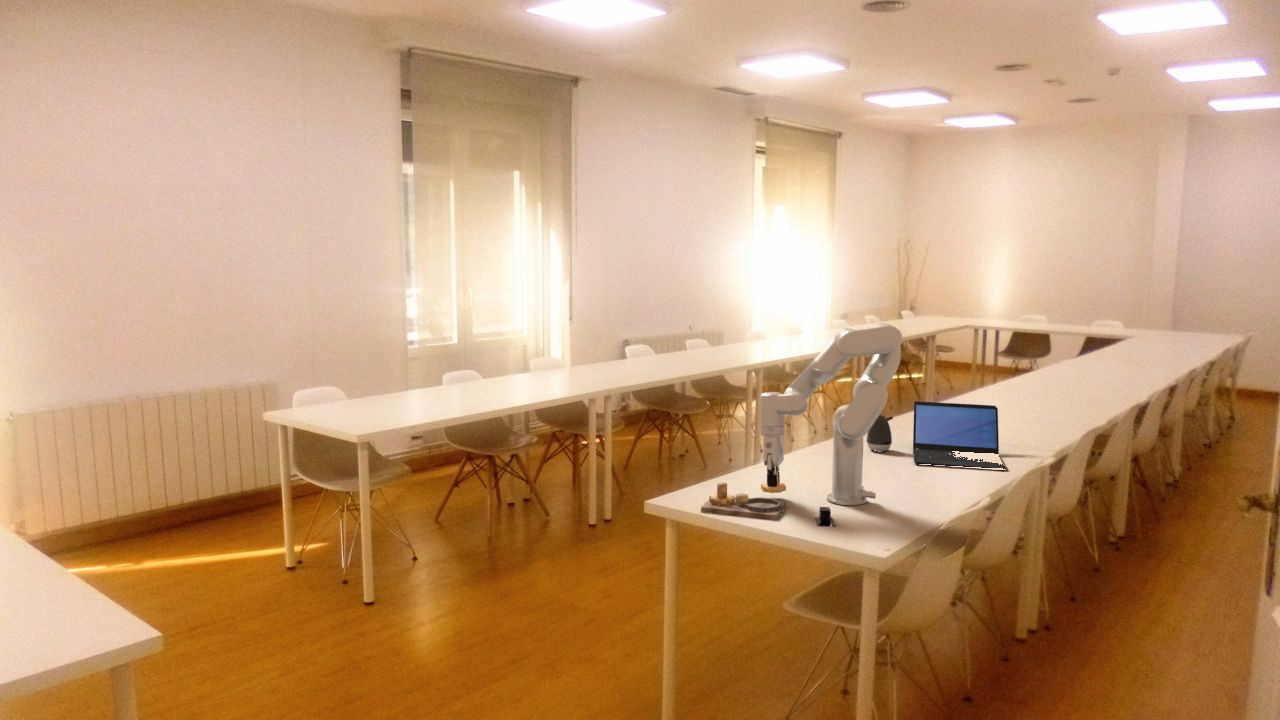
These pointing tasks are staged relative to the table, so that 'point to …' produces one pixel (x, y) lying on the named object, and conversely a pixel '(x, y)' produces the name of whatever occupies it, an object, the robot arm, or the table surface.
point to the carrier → (743, 505)
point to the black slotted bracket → (825, 518)
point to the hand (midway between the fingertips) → (773, 484)
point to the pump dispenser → (880, 434)
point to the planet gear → (779, 488)
